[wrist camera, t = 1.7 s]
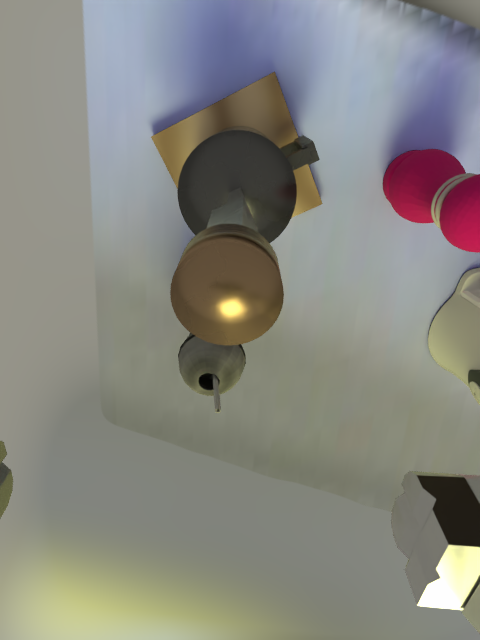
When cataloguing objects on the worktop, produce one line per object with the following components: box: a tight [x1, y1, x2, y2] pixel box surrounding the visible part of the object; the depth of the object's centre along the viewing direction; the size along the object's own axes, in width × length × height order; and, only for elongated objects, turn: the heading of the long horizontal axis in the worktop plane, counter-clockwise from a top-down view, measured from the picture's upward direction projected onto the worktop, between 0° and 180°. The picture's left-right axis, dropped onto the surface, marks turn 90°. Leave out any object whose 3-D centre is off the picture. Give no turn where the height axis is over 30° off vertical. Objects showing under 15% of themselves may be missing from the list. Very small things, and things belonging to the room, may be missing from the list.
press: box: [178, 126, 319, 243], centre depth 35 cm, size 12×10×22 cm
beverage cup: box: [178, 332, 246, 413], centre depth 46 cm, size 7×7×20 cm
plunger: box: [170, 196, 284, 345], centre depth 21 cm, size 4×4×12 cm
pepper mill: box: [383, 149, 480, 252], centre depth 38 cm, size 7×7×20 cm
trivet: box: [151, 72, 322, 218], centre depth 45 cm, size 14×14×2 cm
